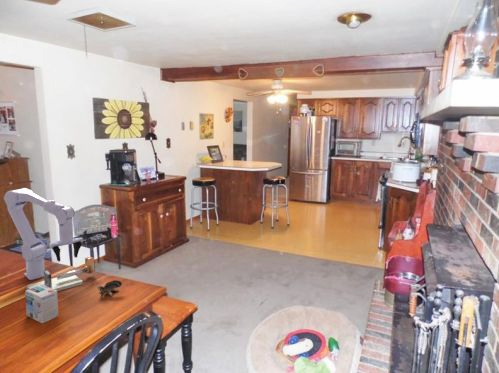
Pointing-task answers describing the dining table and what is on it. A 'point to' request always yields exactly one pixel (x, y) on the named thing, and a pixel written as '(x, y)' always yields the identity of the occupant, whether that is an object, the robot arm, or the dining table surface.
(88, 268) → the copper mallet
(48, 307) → the light bulb box
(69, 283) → the eye stand
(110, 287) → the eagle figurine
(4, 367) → the dining table surface
